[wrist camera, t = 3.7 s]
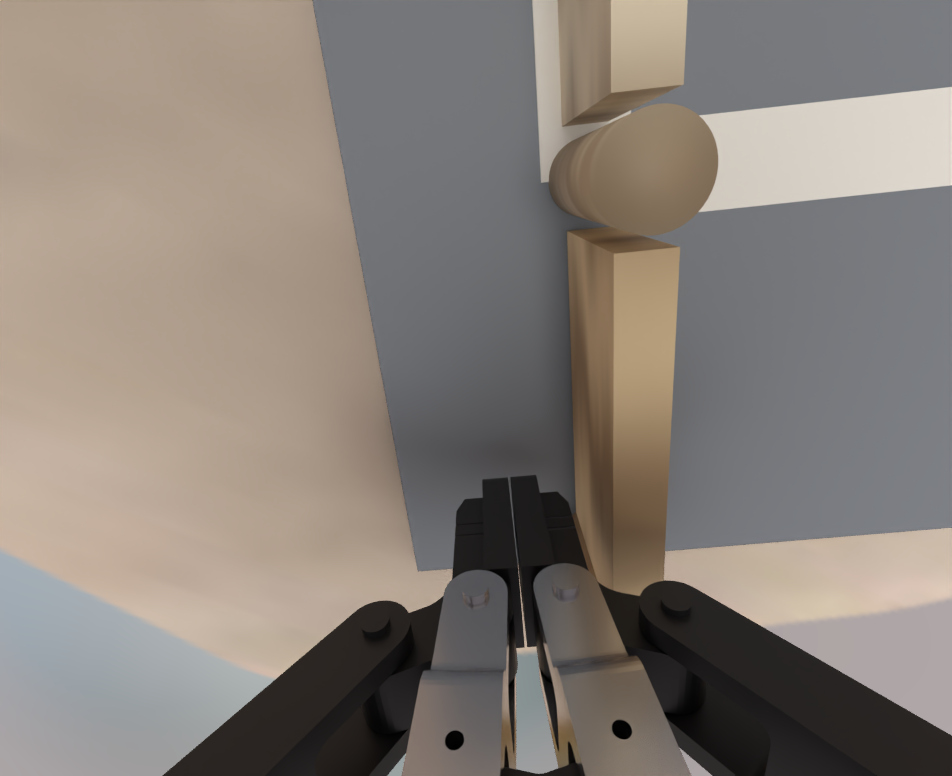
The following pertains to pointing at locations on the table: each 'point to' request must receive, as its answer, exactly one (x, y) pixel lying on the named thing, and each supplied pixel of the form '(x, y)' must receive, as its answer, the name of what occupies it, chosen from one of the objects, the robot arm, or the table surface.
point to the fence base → (629, 118)
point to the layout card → (700, 267)
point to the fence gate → (622, 400)
